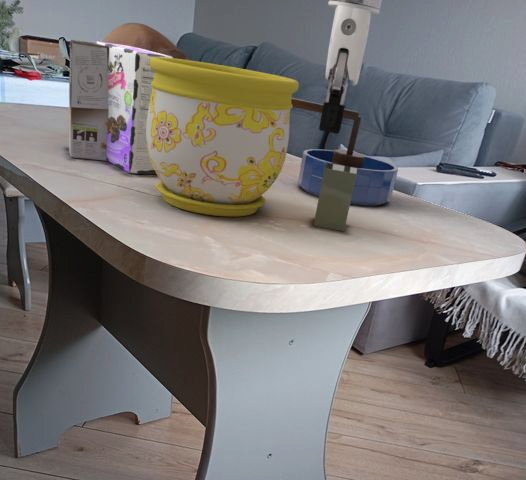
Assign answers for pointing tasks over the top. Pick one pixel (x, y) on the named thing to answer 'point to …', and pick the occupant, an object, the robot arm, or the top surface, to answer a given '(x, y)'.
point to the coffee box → (88, 100)
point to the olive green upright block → (335, 196)
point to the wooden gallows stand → (348, 155)
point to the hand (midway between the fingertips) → (329, 130)
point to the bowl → (366, 183)
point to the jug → (144, 39)
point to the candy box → (129, 106)
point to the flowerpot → (217, 134)
